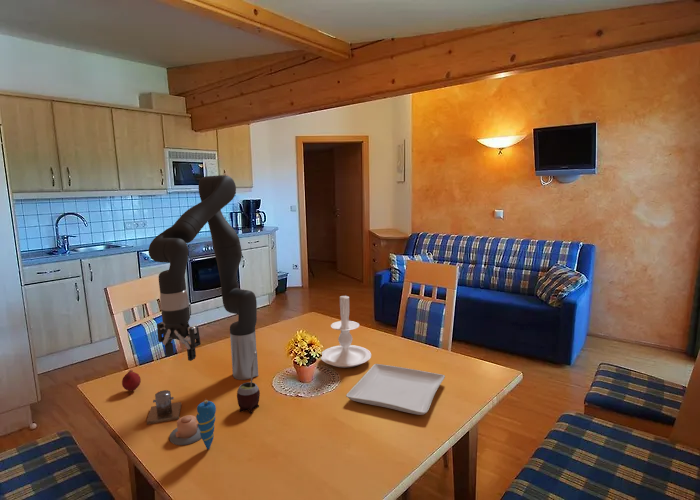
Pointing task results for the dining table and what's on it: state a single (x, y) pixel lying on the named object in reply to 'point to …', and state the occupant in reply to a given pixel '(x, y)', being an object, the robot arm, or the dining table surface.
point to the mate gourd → (248, 394)
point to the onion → (131, 381)
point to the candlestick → (345, 342)
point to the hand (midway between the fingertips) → (180, 357)
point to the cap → (186, 427)
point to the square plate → (397, 388)
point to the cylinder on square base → (164, 408)
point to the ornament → (206, 421)
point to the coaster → (184, 440)
